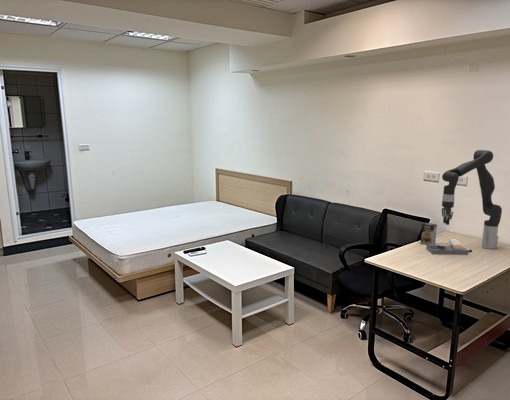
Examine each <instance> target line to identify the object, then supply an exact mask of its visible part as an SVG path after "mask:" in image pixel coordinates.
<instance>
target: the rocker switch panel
mask: <svg viewBox="0 0 510 400" xmlns="http://www.w3.org/2000/svg"><path fill="white" fill-rule="evenodd" d="M425 248H426V249H425V250H427V251H428V252H429V253H430V252H431V254H432V255H463V256H465V255H466V256H467V255H469V253H472V252H473V250H472V249H468V248H466V247H465V246H463V249H454V248H453V247H452V246H451V244H449V246H437V245H426V247H425Z"/></svg>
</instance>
